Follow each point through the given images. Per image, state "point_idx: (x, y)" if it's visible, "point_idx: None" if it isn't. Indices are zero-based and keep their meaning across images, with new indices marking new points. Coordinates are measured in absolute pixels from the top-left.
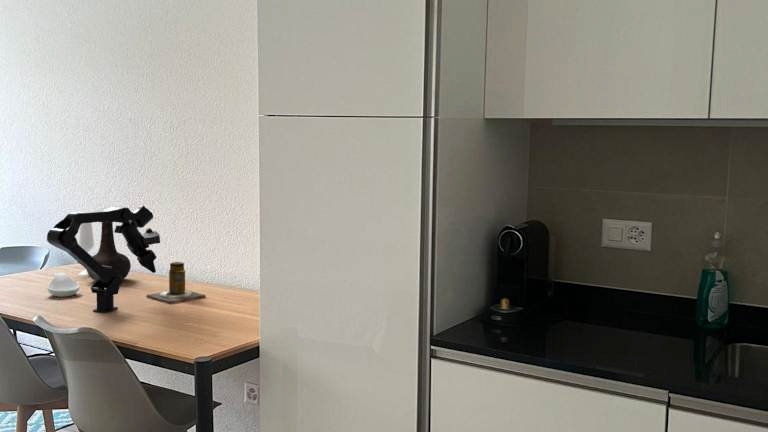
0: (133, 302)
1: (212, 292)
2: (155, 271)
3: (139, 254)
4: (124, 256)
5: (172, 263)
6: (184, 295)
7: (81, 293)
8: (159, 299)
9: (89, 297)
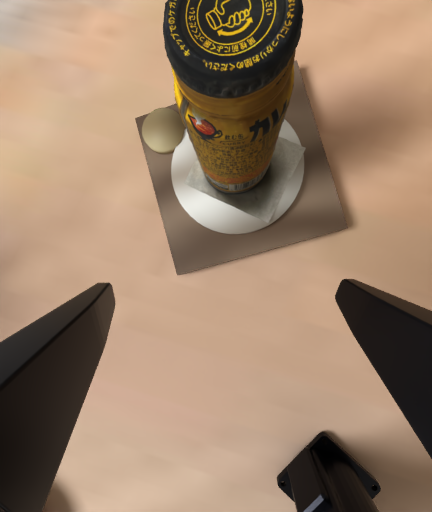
0: (240, 343)
1: None
2: (355, 284)
3: (17, 497)
4: None
5: (216, 57)
6: (302, 147)
7: None
8: (269, 249)
9: (79, 455)
